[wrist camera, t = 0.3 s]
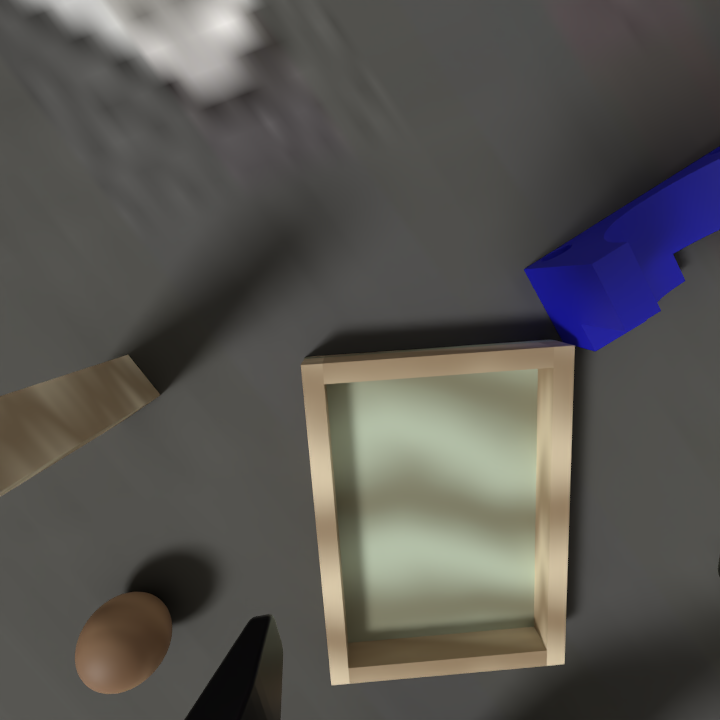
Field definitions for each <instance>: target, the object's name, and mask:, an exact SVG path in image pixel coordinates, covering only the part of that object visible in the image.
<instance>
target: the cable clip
mask: <svg viewBox="0 0 720 720" xmlns="http://www.w3.org/2000/svg"><path fill="white" fill-rule="evenodd" d="M718 230H720V146H719V147H718V148H716V149H714V150H713V151H711V152H710V153H708V154H707V155H705V156H703V157H702V158H700V159H699V160H697V161H695V162H694V163H692V164H691V165H689V166H687V167H686V168H684V169H683V170H681V171H679V172H678V173H676V174H675V175H673V176H672V177H670V178H668V179H667V180H665V181H664V182H662V183H660V184H659V185H657V186H656V187H654V188H652V189H651V190H649V191H648V192H646V193H644V194H643V195H641V196H640V197H638V198H637V199H635V200H633V201H632V202H630V203H629V204H627V205H625V206H624V207H622V208H621V209H619V210H617V211H616V212H614V213H613V214H611V215H609V216H608V217H606V218H605V219H603V220H602V221H600V222H598V223H597V224H595V225H594V226H592V227H590V228H589V229H587V230H586V231H584V232H582V233H581V234H579V235H578V236H576V237H574V238H573V239H571V240H570V241H568V242H567V243H565V244H563V245H562V246H560V247H559V248H557V249H555V250H554V251H552V252H551V253H549V254H547V255H546V256H544V257H543V258H541V259H539V260H538V261H536V262H535V263H533V264H532V265H530V266H528V267H527V268H525V269H524V271H525V272H526V274H527V276H528V278H529V280H530V282H531V284H532V285H533V287H534V289H535V291H536V293H537V295H538V297H539V298H540V300H541V302H542V304H543V306H544V308H545V310H546V311H547V313H548V315H549V317H550V319H551V321H552V323H553V325H554V326H555V328H556V330H557V332H558V334H559V336H560V338H561V339H562V341H563V342H564V343H567V344H571V345H575V346H577V347H581V348H585V349H588V350H592V351H597V350H599V349H600V348H602V347H604V346H605V345H607V344H609V343H610V342H612V341H613V340H615V339H617V338H618V337H620V336H622V335H623V334H625V333H627V332H628V331H630V330H632V329H633V328H635V327H637V326H638V325H640V324H642V323H643V322H645V321H646V320H647V319H648V318H650V317H651V316H653V315H655V314H656V313H658V312H660V311H661V310H660V308H659V306H658V304H657V302H658V301H659V300H660V299H661V298H662V297H663V296H664V295H666V294H667V293H668V292H670V291H671V290H672V289H674V288H675V287H677V286H678V285H679V284H681V283H683V282H684V281H685V279H684V277H683V275H682V273H681V270H680V268H679V266H678V264H677V262H676V260H675V257H674V255H673V254H674V253H676V252H677V251H679V250H681V249H683V248H684V247H686V246H688V245H690V244H692V243H694V242H695V241H697V240H699V239H701V238H703V237H705V236H707V235H709V234H712V233H714V232H716V231H718Z"/></svg>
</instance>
